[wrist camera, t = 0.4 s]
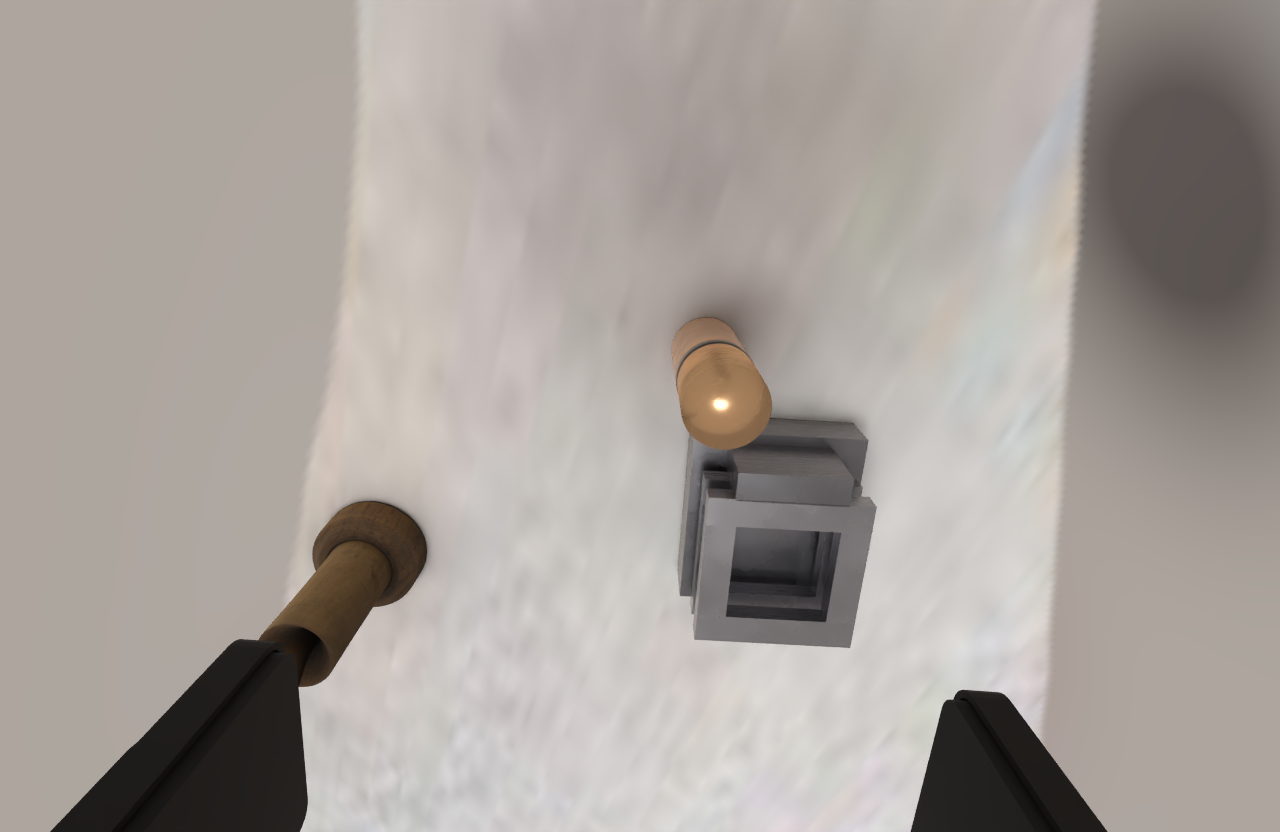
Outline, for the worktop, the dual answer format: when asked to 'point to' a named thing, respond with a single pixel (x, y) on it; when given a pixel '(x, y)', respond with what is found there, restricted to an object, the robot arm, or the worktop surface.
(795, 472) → the bracket
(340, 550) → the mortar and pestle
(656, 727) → the worktop surface
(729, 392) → the copper tube
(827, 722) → the worktop surface
